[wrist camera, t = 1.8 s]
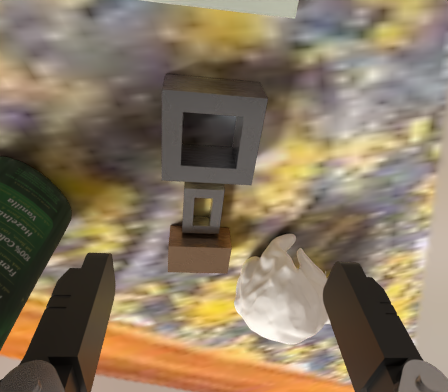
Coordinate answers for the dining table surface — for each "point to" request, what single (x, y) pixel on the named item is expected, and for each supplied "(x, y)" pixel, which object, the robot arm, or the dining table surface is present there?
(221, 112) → the link
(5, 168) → the coffee jar
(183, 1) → the peg stand
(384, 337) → the robot arm
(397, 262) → the dining table surface
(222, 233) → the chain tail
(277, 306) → the white lumpy piece
